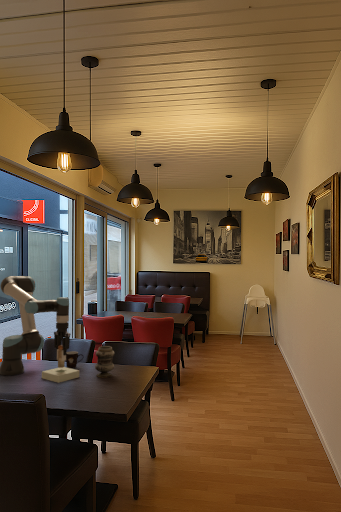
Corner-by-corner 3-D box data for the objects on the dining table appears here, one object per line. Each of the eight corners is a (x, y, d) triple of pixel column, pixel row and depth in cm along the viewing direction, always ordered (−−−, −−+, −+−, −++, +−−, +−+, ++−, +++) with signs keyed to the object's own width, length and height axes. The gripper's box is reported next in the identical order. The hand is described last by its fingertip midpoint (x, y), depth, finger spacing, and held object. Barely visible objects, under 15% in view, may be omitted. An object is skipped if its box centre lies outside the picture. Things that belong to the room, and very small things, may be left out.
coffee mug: (62, 368, 255) (62, 353, 255) (69, 365, 263) (69, 351, 264) (77, 369, 251) (77, 354, 252) (84, 366, 260) (84, 352, 260)
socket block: (41, 378, 229) (41, 371, 229) (62, 372, 242) (62, 366, 242) (58, 382, 220) (58, 375, 220) (79, 377, 233) (79, 370, 233)
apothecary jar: (103, 379, 229) (104, 349, 230) (90, 376, 236) (91, 347, 237) (117, 375, 238) (118, 347, 239) (104, 372, 246) (105, 344, 247)
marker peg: (56, 367, 231) (57, 345, 232) (61, 365, 234) (62, 345, 235) (60, 368, 229) (61, 346, 229) (65, 366, 232) (66, 345, 233)
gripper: (48, 321, 235) (47, 359, 233) (66, 323, 225) (65, 362, 224) (58, 320, 241) (57, 357, 240) (76, 322, 231) (75, 360, 230)
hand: (61, 359), depth 232 cm, fingers closed on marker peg, 4 cm apart
